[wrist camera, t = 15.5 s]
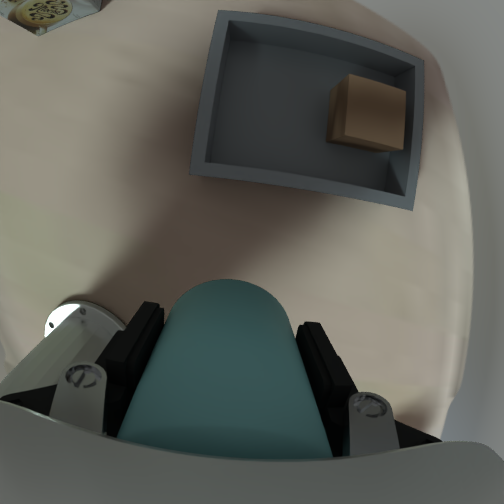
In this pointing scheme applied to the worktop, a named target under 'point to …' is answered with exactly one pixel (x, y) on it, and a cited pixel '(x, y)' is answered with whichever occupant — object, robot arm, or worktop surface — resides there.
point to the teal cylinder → (227, 380)
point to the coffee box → (46, 12)
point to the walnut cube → (366, 115)
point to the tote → (300, 109)
